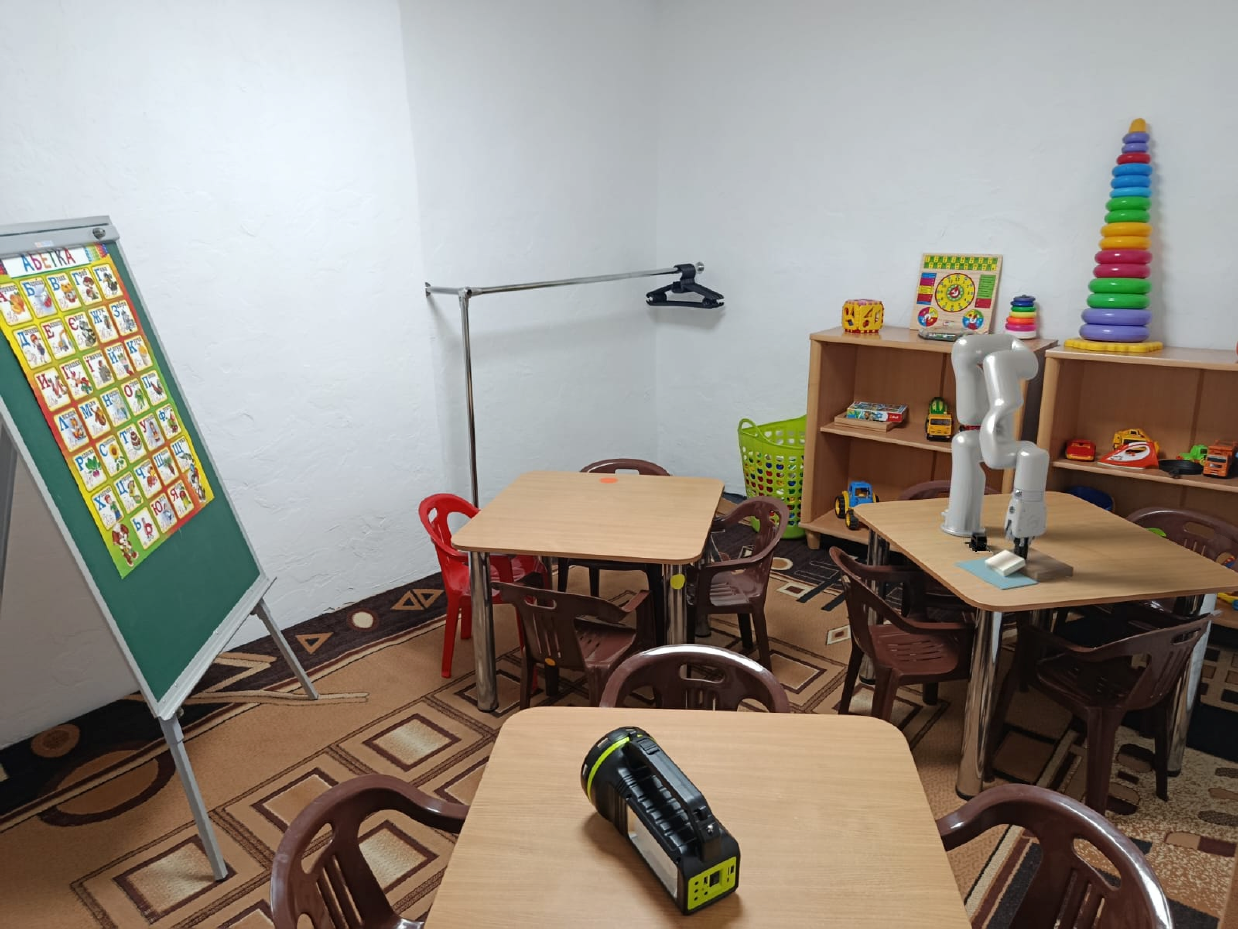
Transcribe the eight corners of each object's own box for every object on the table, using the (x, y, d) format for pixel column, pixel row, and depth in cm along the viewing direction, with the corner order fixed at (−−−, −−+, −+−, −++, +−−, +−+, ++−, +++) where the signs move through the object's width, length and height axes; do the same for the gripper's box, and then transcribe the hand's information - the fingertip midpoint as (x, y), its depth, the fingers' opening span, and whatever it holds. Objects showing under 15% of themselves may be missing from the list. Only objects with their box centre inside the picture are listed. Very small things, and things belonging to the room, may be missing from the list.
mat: (954, 564, 231) (955, 563, 230) (989, 558, 234) (989, 557, 234) (1001, 589, 214) (1002, 588, 214) (1038, 583, 217) (1038, 582, 217)
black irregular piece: (957, 541, 249) (959, 526, 247) (981, 541, 249) (983, 526, 247) (974, 557, 237) (976, 542, 235) (1000, 556, 237) (1002, 542, 235)
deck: (992, 559, 233) (993, 551, 232) (1027, 554, 237) (1028, 546, 236) (1036, 582, 218) (1037, 573, 218) (1072, 575, 222) (1073, 567, 221)
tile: (985, 567, 227) (984, 561, 227) (1006, 555, 229) (1005, 549, 228) (1004, 576, 221) (1003, 570, 220) (1025, 565, 222) (1024, 559, 222)
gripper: (1016, 501, 214) (1007, 567, 220) (1061, 495, 219) (1052, 559, 224) (995, 493, 221) (987, 557, 226) (1039, 487, 226) (1031, 550, 231)
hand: (1020, 558), depth 225 cm, fingers closed
